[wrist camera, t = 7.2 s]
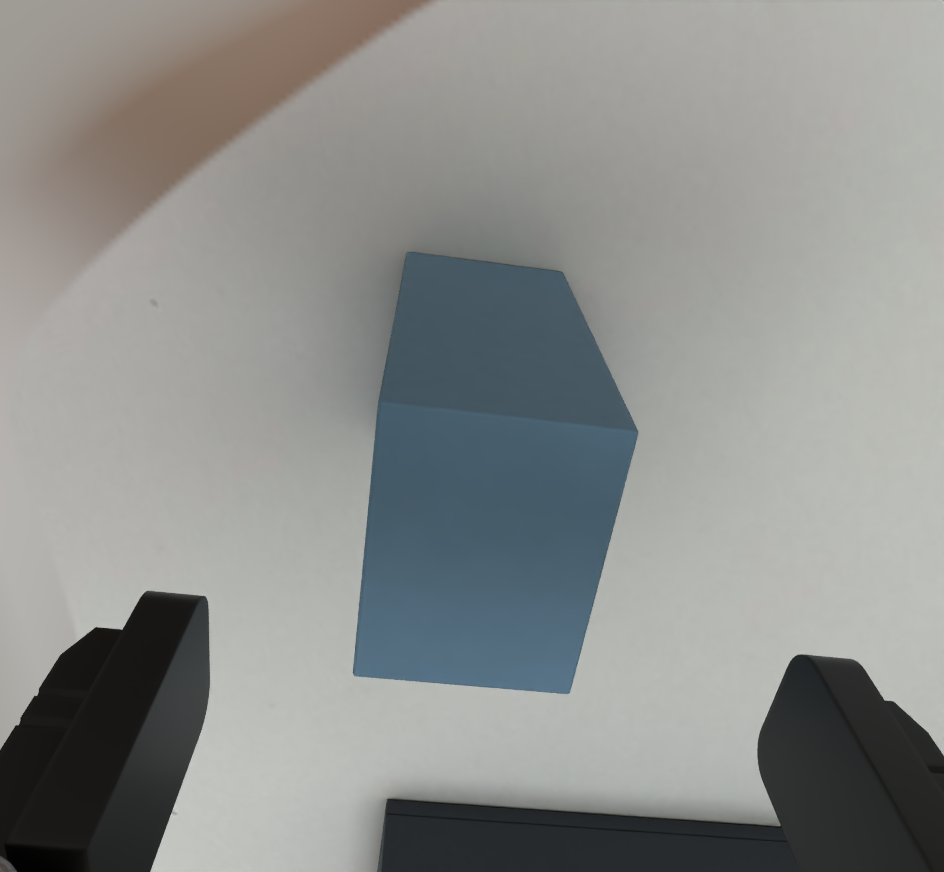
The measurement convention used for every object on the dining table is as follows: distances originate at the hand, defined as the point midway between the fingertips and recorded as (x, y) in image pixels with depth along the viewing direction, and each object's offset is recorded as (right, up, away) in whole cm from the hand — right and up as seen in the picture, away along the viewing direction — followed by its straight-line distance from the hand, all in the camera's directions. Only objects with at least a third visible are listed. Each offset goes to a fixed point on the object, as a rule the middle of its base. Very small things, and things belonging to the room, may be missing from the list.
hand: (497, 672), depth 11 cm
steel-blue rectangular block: (0, +5, +10) cm, 12 cm away
